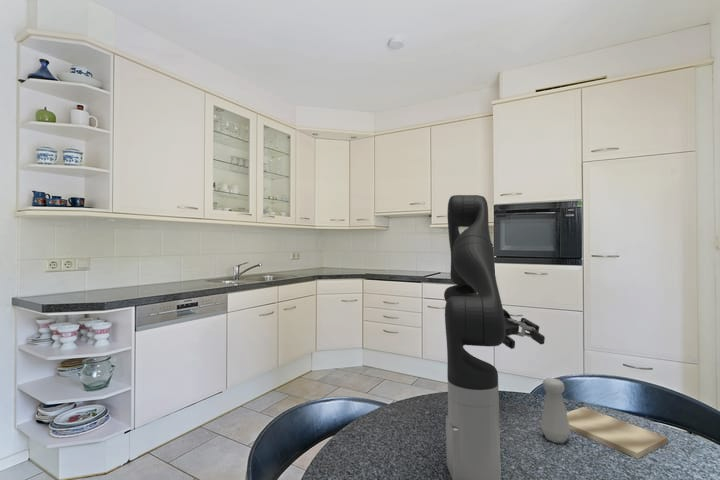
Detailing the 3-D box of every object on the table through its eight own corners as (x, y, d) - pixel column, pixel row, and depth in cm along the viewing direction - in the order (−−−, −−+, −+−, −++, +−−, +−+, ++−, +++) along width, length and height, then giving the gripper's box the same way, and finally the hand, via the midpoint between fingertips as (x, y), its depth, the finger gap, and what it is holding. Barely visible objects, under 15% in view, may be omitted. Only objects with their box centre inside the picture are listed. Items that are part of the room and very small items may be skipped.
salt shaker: (574, 446, 75) (572, 385, 75) (545, 444, 76) (543, 383, 77) (564, 433, 80) (562, 376, 81) (537, 431, 81) (535, 375, 82)
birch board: (552, 422, 86) (552, 417, 86) (583, 411, 92) (583, 406, 92) (637, 459, 70) (637, 452, 70) (668, 443, 76) (667, 437, 76)
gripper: (468, 305, 98) (505, 332, 83) (512, 300, 102) (554, 325, 86) (466, 330, 100) (502, 360, 85) (509, 324, 103) (551, 353, 88)
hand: (528, 343), depth 85 cm, fingers open, 8 cm apart
